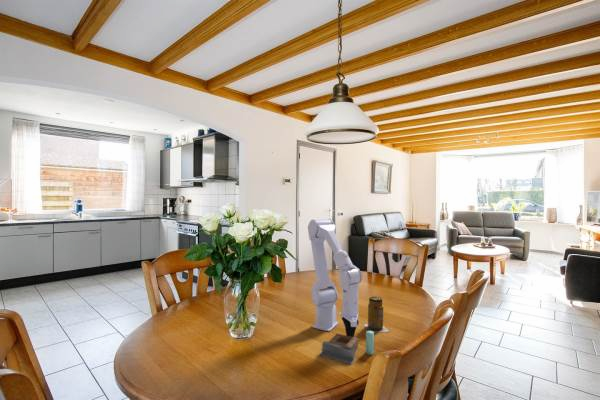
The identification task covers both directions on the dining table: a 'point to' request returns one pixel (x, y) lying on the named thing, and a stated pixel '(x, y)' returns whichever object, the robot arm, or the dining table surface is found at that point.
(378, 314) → the condiment
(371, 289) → the dining table surface
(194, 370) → the dining table surface
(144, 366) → the dining table surface
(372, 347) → the dowel
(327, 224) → the robot arm
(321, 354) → the wall
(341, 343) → the brown hollow block
